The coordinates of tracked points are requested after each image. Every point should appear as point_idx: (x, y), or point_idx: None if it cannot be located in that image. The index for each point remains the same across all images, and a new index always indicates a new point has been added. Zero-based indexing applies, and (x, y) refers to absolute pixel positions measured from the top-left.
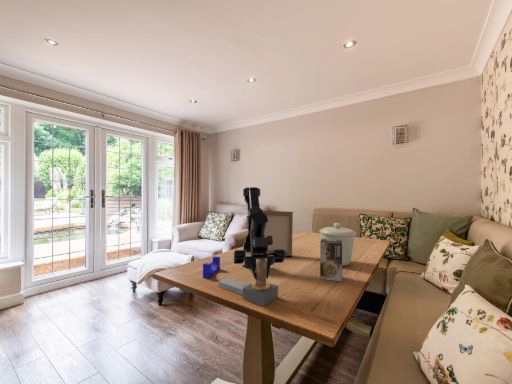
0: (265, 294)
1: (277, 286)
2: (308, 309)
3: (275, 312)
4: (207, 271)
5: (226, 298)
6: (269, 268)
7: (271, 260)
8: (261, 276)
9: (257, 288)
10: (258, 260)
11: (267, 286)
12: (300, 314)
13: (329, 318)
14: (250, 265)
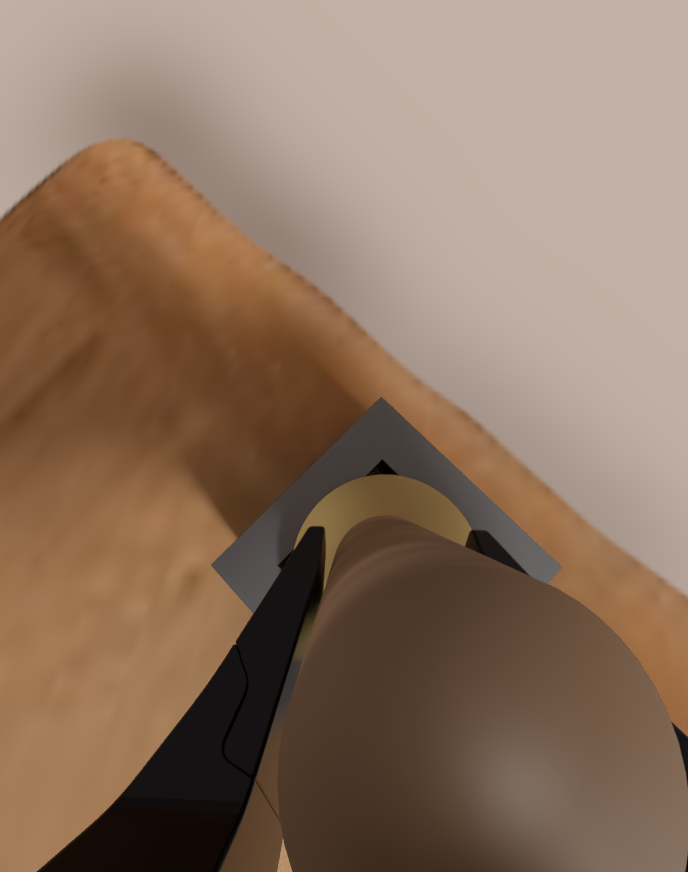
0: (362, 416)
1: (219, 557)
2: (105, 359)
3: (313, 345)
4: None
5: (637, 572)
6: (246, 633)
7: (84, 847)
8: (401, 524)
9: (428, 487)
10: (588, 690)
11: (325, 511)
12: (176, 311)
13: (40, 260)
14: (683, 734)
